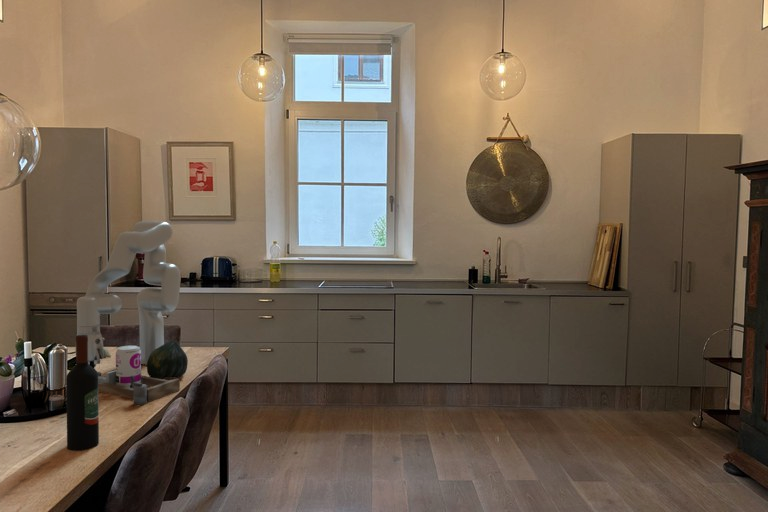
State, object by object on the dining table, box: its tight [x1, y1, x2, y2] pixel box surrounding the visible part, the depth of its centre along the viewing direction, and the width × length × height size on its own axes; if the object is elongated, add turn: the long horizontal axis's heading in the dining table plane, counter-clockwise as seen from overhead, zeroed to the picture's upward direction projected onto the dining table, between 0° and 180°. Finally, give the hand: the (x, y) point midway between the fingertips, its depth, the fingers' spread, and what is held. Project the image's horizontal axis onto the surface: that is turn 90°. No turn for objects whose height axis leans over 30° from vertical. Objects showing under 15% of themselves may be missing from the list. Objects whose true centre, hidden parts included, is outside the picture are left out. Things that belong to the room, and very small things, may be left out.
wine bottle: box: [65, 334, 100, 452], centre depth 148 cm, size 8×8×30 cm
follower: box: [97, 369, 116, 385], centre depth 202 cm, size 10×14×6 cm
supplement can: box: [115, 344, 142, 388], centre depth 197 cm, size 8×8×15 cm
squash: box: [146, 340, 189, 380], centre depth 212 cm, size 14×15×15 cm
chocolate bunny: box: [102, 337, 112, 359], centre depth 240 cm, size 6×8×10 cm
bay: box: [98, 374, 181, 407], centre depth 194 cm, size 19×27×9 cm
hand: (89, 377), depth 206 cm, fingers closed
